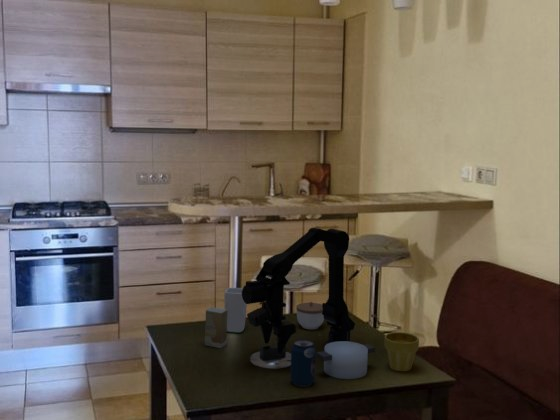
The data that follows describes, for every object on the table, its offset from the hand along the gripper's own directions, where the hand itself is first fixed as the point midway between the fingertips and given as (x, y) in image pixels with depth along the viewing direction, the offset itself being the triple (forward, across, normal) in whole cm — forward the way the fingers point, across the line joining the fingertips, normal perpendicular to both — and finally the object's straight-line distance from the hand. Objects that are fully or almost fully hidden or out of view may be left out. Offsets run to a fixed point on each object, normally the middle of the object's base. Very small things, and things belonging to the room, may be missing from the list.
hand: (273, 347), depth 204 cm
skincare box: (+4, -20, -11) cm, 23 cm away
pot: (+4, +17, +16) cm, 24 cm away
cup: (+4, -31, +1) cm, 31 cm away
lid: (+4, 0, 0) cm, 4 cm away
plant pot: (+4, +22, +33) cm, 40 cm away
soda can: (+4, +20, 0) cm, 20 cm away
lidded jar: (+4, -24, +28) cm, 37 cm away
